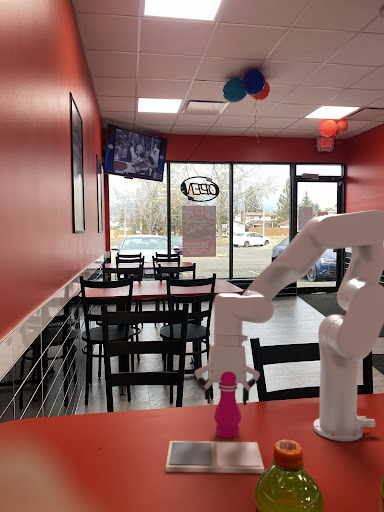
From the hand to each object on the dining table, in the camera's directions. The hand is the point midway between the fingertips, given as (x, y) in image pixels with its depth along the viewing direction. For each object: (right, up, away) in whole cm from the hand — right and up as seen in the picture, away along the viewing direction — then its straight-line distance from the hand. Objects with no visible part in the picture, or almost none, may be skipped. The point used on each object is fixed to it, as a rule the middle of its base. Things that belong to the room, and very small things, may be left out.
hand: (226, 402), depth 110 cm
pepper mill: (0, -8, 0) cm, 8 cm away
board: (-4, -9, -12) cm, 16 cm away
